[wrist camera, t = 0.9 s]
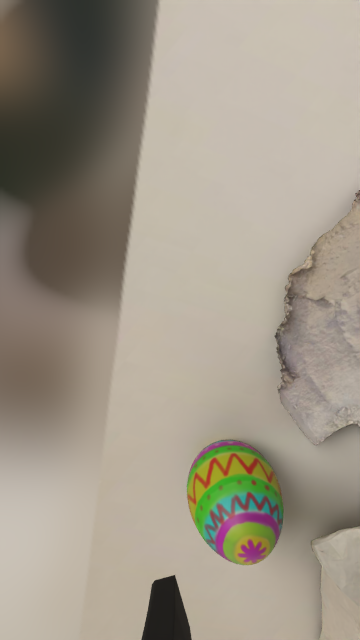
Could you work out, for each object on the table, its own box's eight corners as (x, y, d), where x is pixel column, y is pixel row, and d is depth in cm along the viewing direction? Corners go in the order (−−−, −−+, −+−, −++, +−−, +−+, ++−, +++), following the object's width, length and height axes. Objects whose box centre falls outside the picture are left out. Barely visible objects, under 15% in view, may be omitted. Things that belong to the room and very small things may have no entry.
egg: (274, 436, 19) (322, 513, 14) (251, 505, 20) (288, 607, 14) (195, 420, 19) (211, 495, 13) (175, 492, 20) (182, 592, 14)
